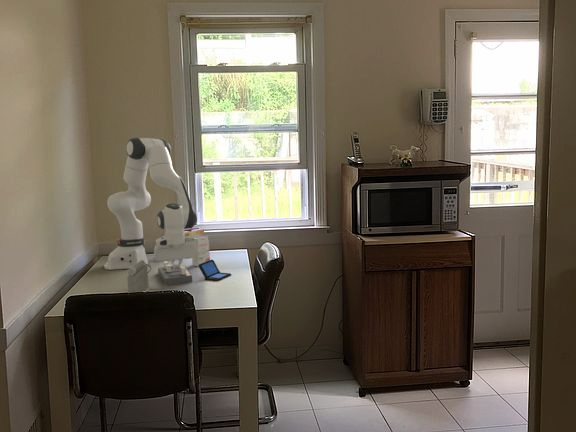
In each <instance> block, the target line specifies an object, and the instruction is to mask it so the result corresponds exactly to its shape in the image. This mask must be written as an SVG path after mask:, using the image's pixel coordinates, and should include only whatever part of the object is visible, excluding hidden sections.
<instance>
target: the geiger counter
mask: <svg viewBox="0 0 576 432" xmlns="http://www.w3.org/2000/svg"><path fill="white" fill-rule="evenodd" d="M144 264H145V262H144V261H143V260H141V261H140V262H139V263H137V264H136V265H134V267H131V268H128V270H127V277H126V278H127V289H128V290H127V291H128V293H129V292H143V291H146V290H147V289H148V288H149V289H150V284H149V273H150V272H151V271H152V266H151V265H149V263H148V264H145V265H144ZM148 267H149V268H150V269H149V270H148Z"/></svg>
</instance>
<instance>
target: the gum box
mask: <svg viewBox="0 0 576 432" xmlns="http://www.w3.org/2000/svg"><path fill="white" fill-rule="evenodd" d="M184 231H185V239H186V238H195V239H197V238H199V237H203V236H205V229H204V228H202V229H200V228H199V227H195V228H193V227H192V228H191V229H184ZM162 235H163V236H165V233H162ZM163 236H162V237H163ZM201 240H204V239H203V238H202V239H201Z"/></svg>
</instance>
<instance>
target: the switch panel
mask: <svg viewBox="0 0 576 432" xmlns="http://www.w3.org/2000/svg"><path fill="white" fill-rule="evenodd" d="M180 267H185V266H184V264H181V265H180ZM171 269H172V272H167V271H166V269H164V266H163V267H162V266H161V267H158V268H157V274H158V276H159V277H160V279H161V280H162V281H163V283H164V284H165V286H171V285H179V284H187V283H193V275H192V273H191V272H190V271H189V270H188V269H186V274H185V275H182V274H181V268H180V269H174V268H173V265H171Z"/></svg>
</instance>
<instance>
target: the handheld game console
mask: <svg viewBox="0 0 576 432" xmlns="http://www.w3.org/2000/svg"><path fill="white" fill-rule="evenodd" d="M198 268H199V270H200V271H201V273H202V275H203V277H204V280H205V281H210V282H220V281H222V280H224V279H227V278H228V277H231V276H232V273H231V272H221V271H220V270H219V268H218V266H217V264H216V262H215V260H213V259H210V261H207V262H204V263H202V264H199V266H198Z"/></svg>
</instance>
